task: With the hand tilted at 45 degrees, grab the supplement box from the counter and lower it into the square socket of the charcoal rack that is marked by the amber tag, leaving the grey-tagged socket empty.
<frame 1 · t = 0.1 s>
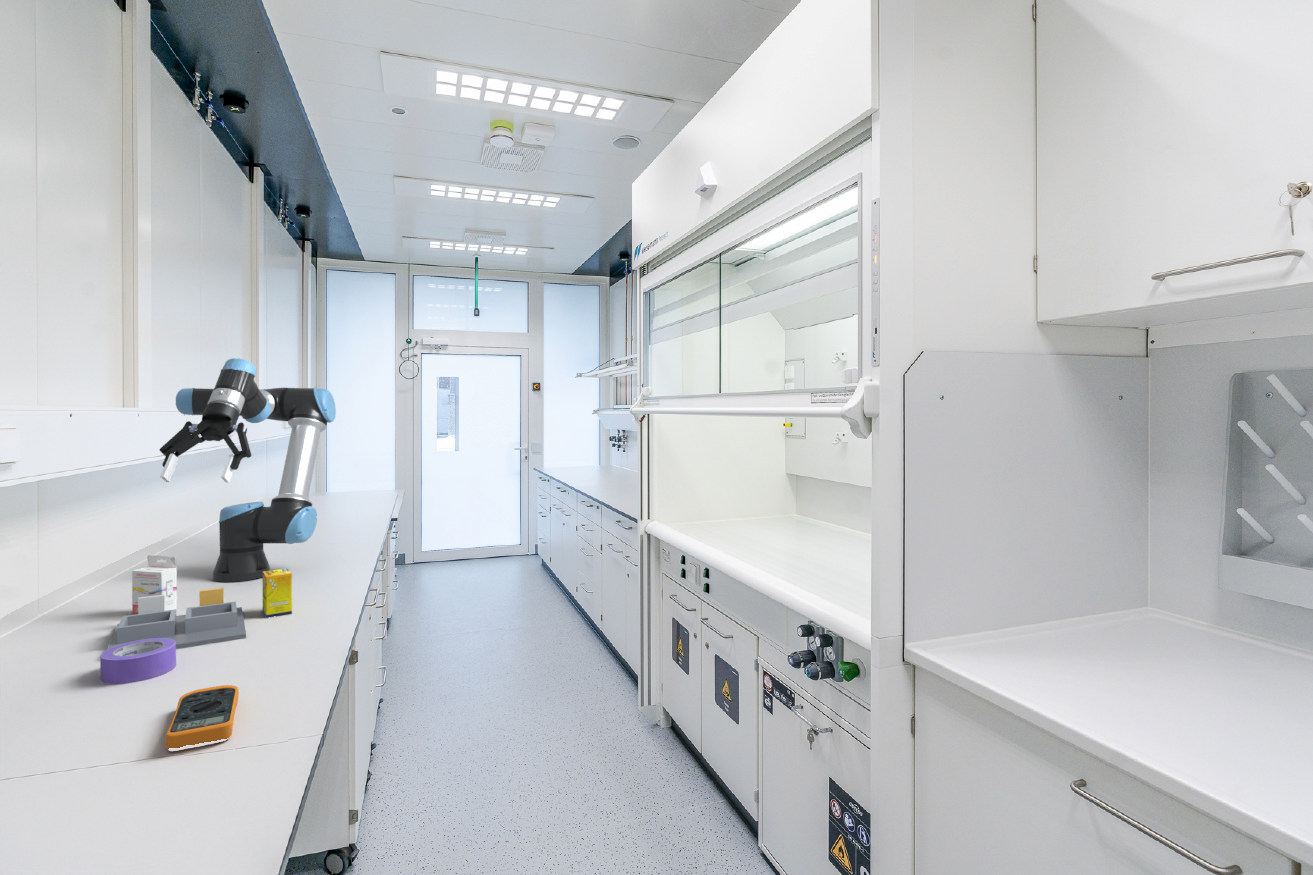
hand: (195, 479, 154), 36 cm above the counter, tool tilted 35°, fingers open, 13 cm apart
supplement box: (277, 614, 165), on the counter
tape roll: (139, 673, 127), on the counter
ink cartridge box: (154, 614, 163), on the counter
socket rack: (180, 632, 149), on the counter
multimeter: (205, 726, 107), on the counter
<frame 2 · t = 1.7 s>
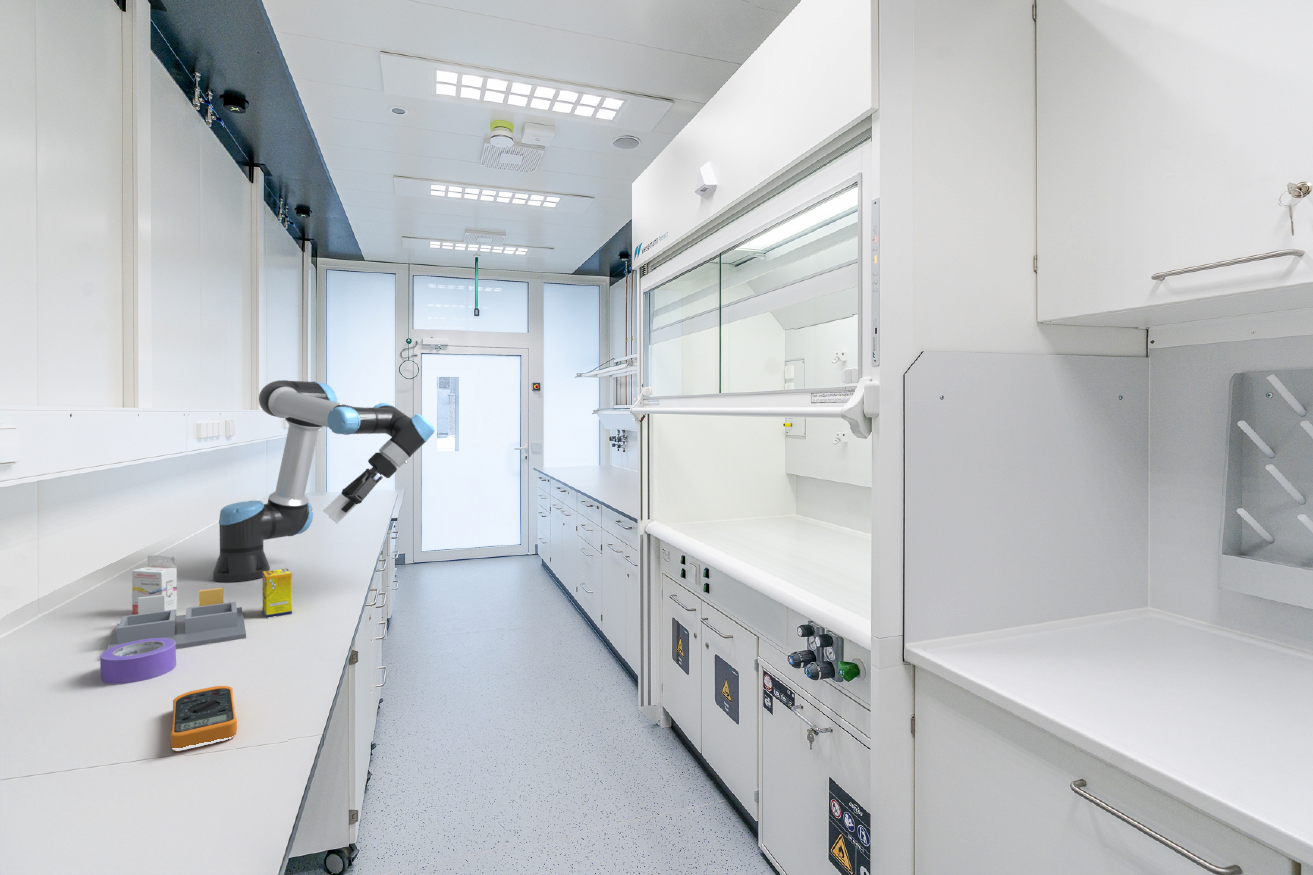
hand: (329, 517, 171), 24 cm above the counter, tool tilted 45°, fingers open, 13 cm apart
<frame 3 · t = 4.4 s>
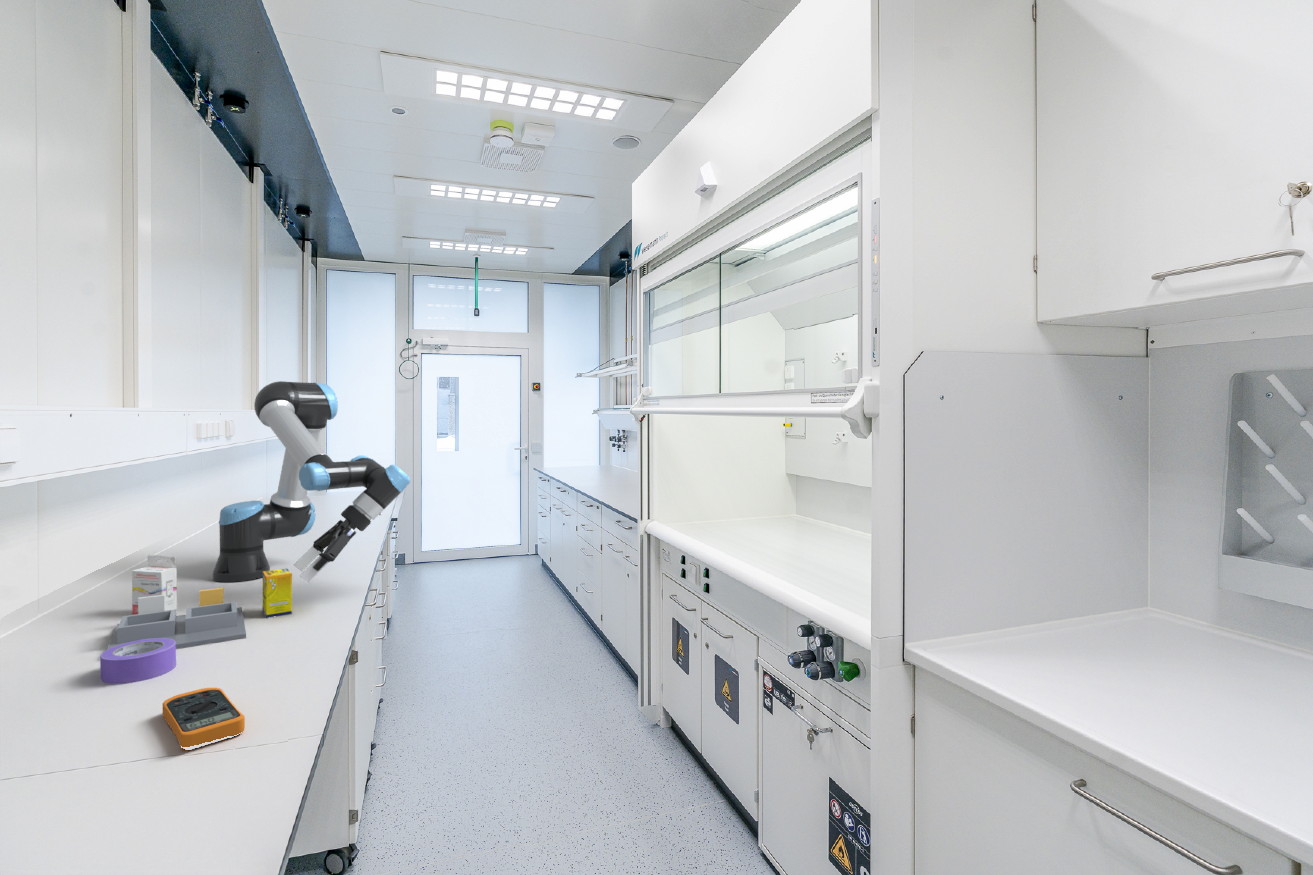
hand: (300, 573, 167), 10 cm above the counter, tool tilted 45°, fingers open, 13 cm apart
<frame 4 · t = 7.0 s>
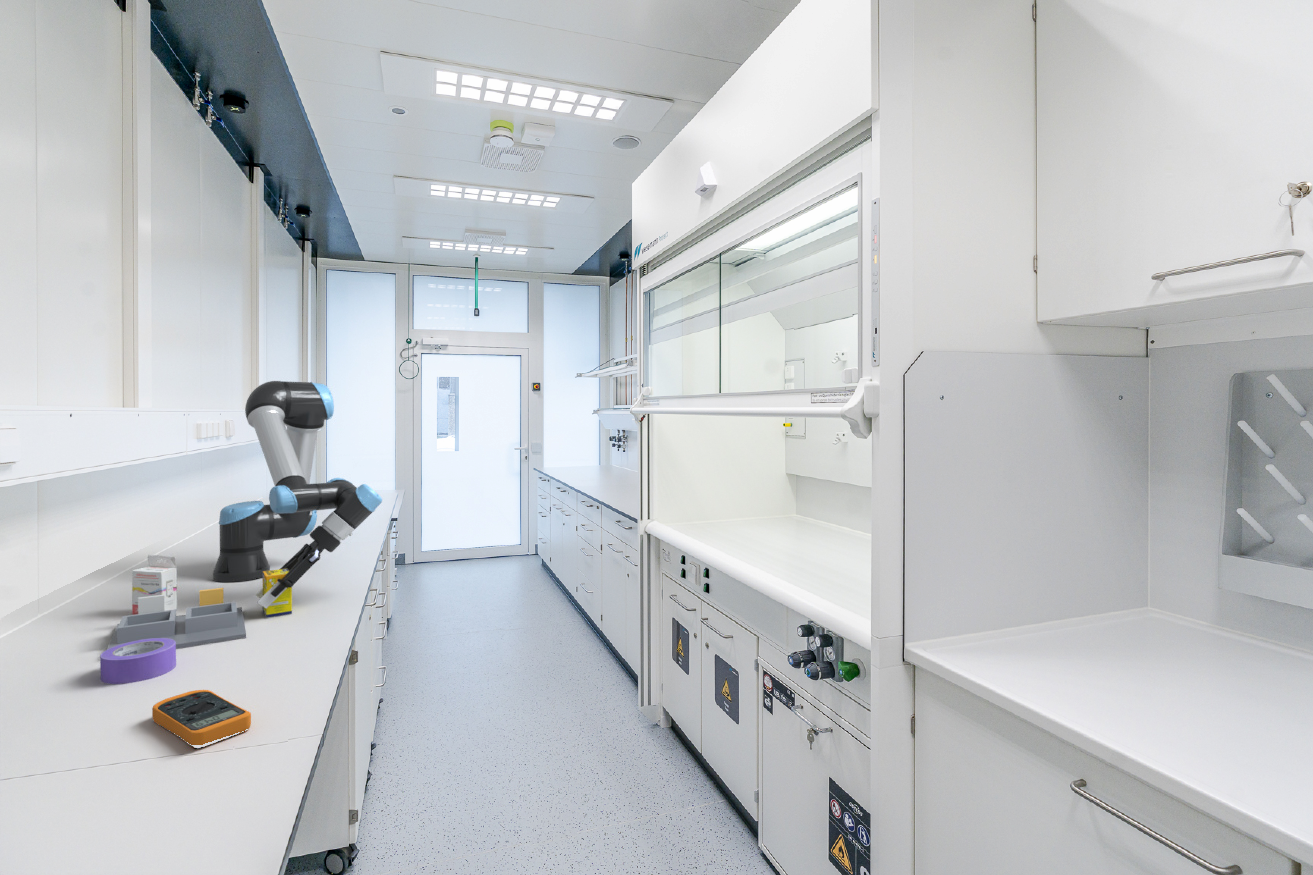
hand: (260, 601, 163), 4 cm above the counter, tool tilted 45°, fingers closed on supplement box, 6 cm apart
supplement box: (277, 613, 165), on the counter, touching gripper
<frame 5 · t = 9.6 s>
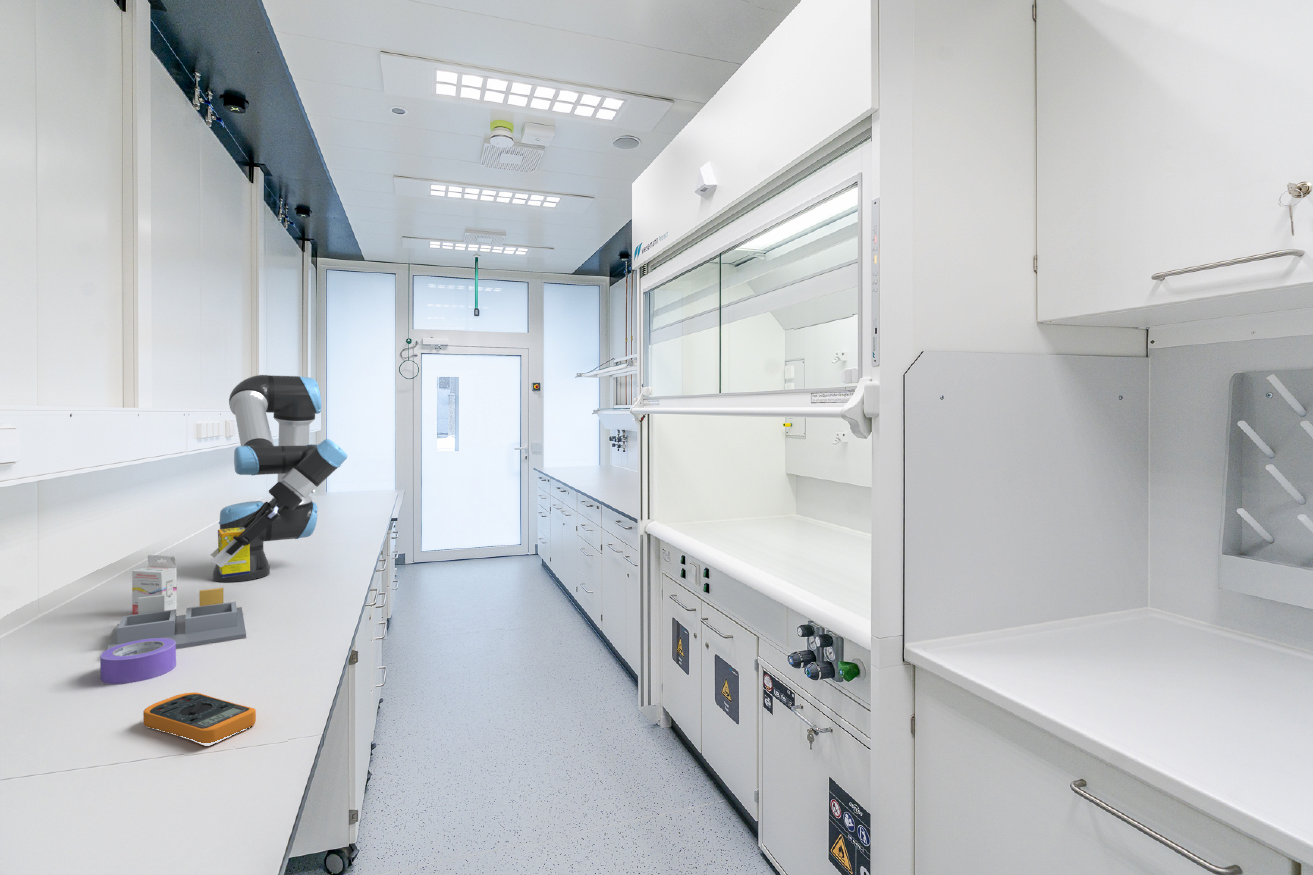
hand: (215, 560, 153), 16 cm above the counter, tool tilted 45°, fingers closed on supplement box, 6 cm apart
supplement box: (234, 574, 156), point 12 cm above the counter, touching gripper
when the fingers open (6 cm above the counter, at t = 12.7 s): supplement box drops 2 cm, resting on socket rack.
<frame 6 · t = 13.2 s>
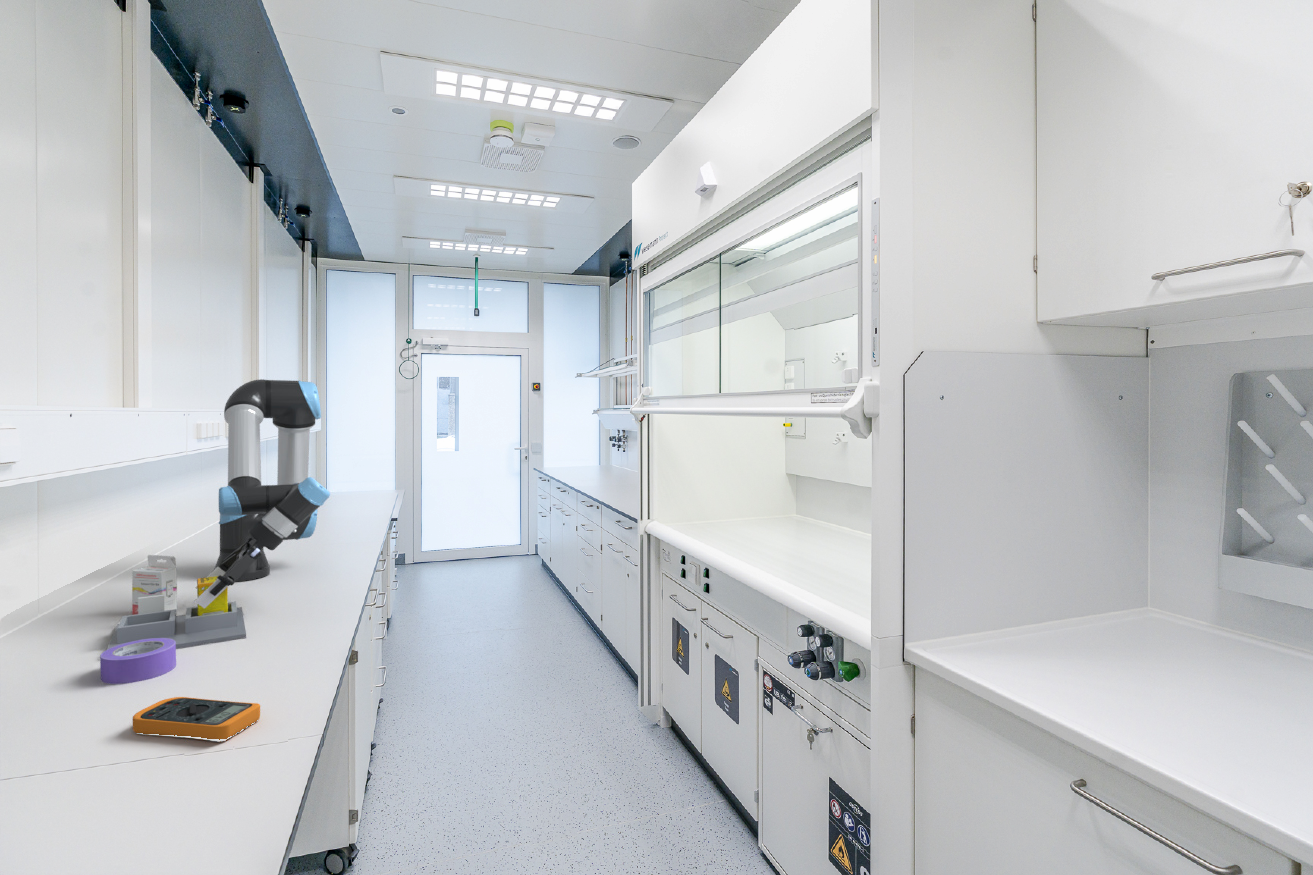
hand: (199, 597, 151), 8 cm above the counter, tool tilted 45°, fingers open, 13 cm apart
supplement box: (212, 624, 153), point 1 cm above the counter, touching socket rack
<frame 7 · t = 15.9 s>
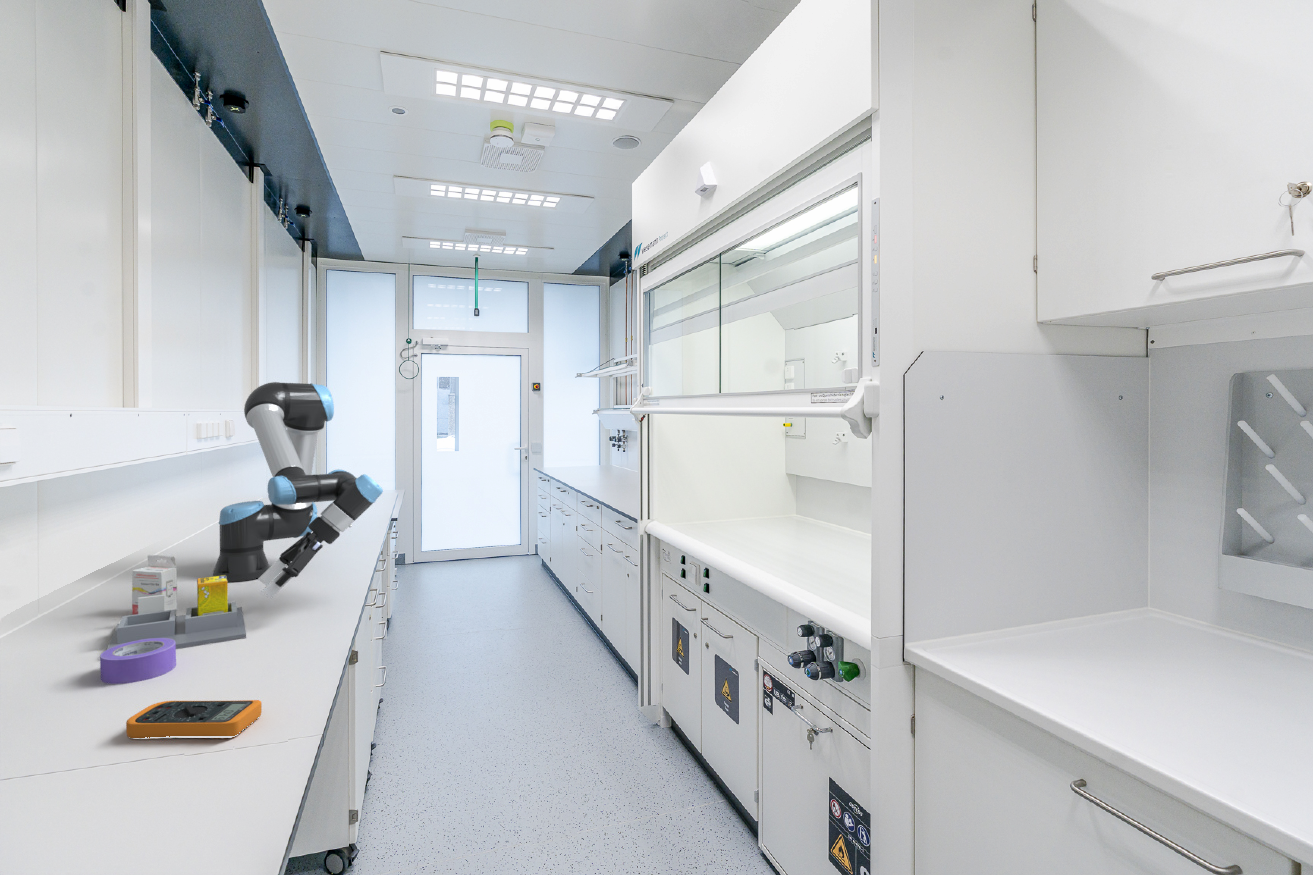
hand: (263, 588, 159), 8 cm above the counter, tool tilted 45°, fingers open, 13 cm apart
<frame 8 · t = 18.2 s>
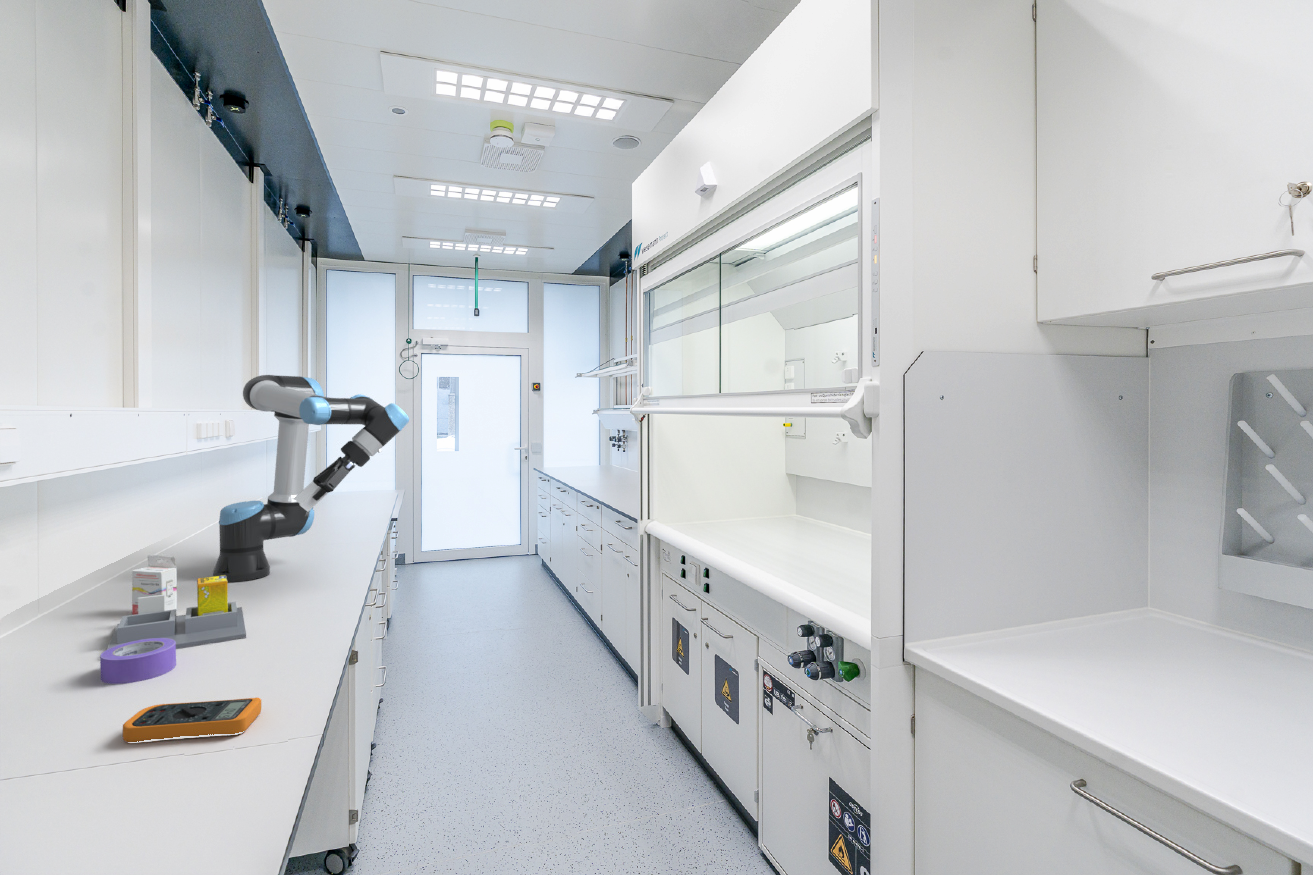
hand: (300, 505, 170), 28 cm above the counter, tool tilted 45°, fingers open, 13 cm apart
at the end: supplement box 0.4 cm from the target spot on the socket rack, point 0.8 cm above the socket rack's base; supplement box tilted 0°; the gripper is holding nothing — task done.
